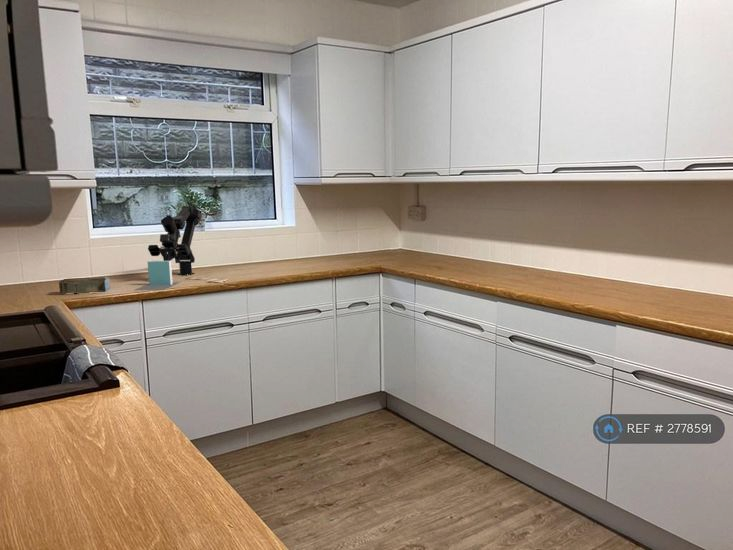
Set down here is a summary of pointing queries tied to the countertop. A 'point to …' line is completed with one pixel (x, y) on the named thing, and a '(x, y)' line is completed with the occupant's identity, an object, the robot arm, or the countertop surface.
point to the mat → (156, 287)
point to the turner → (207, 279)
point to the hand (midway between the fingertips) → (165, 263)
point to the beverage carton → (84, 285)
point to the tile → (160, 273)
